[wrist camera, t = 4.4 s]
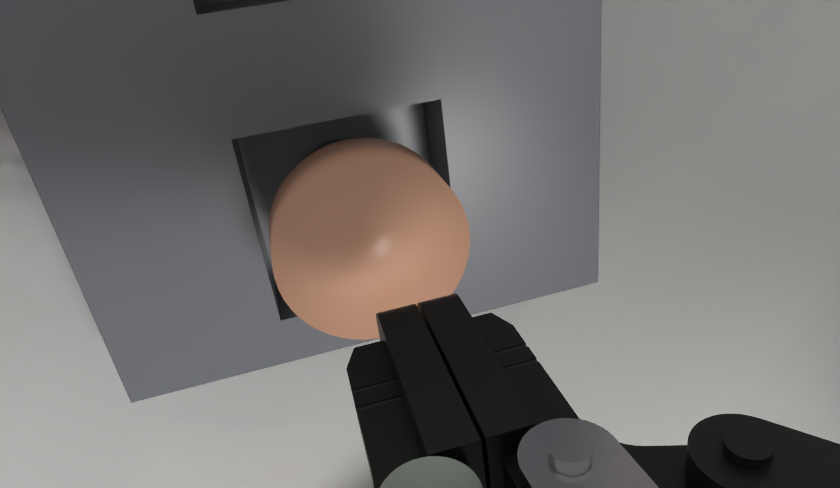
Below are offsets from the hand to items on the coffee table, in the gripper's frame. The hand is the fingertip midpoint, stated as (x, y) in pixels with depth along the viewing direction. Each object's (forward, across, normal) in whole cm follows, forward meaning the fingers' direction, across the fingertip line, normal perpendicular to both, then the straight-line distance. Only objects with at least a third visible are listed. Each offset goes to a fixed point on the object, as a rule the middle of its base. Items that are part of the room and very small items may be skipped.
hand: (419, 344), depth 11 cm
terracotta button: (+8, 0, 0) cm, 8 cm away
